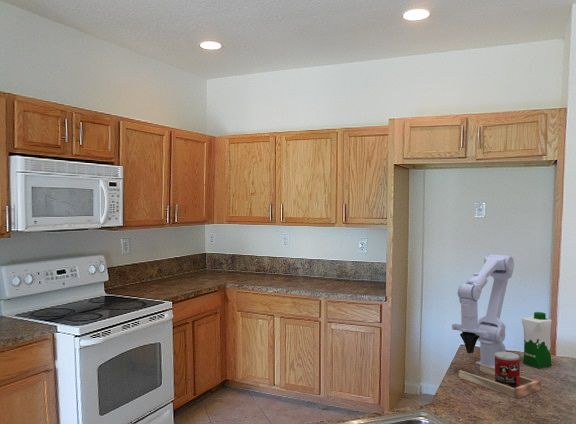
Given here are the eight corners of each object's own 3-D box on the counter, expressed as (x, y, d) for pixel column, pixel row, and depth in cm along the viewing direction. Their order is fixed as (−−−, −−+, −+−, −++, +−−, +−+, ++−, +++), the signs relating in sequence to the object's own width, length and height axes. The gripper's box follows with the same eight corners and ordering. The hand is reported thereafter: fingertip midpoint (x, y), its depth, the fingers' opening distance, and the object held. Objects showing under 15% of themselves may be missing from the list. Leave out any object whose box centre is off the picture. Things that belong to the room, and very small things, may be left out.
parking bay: (481, 370, 173) (481, 362, 173) (541, 389, 154) (541, 380, 154) (458, 377, 166) (458, 369, 166) (518, 398, 147) (517, 389, 147)
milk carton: (555, 366, 176) (554, 314, 176) (539, 369, 173) (538, 317, 173) (534, 359, 184) (533, 310, 184) (519, 363, 181) (518, 312, 181)
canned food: (492, 387, 156) (491, 355, 156) (499, 380, 162) (498, 350, 162) (516, 393, 151) (515, 360, 151) (522, 385, 157) (522, 354, 157)
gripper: (446, 314, 174) (447, 349, 174) (479, 321, 161) (480, 359, 161) (458, 311, 177) (459, 346, 177) (492, 318, 165) (492, 356, 165)
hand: (470, 352), depth 170 cm, fingers closed
